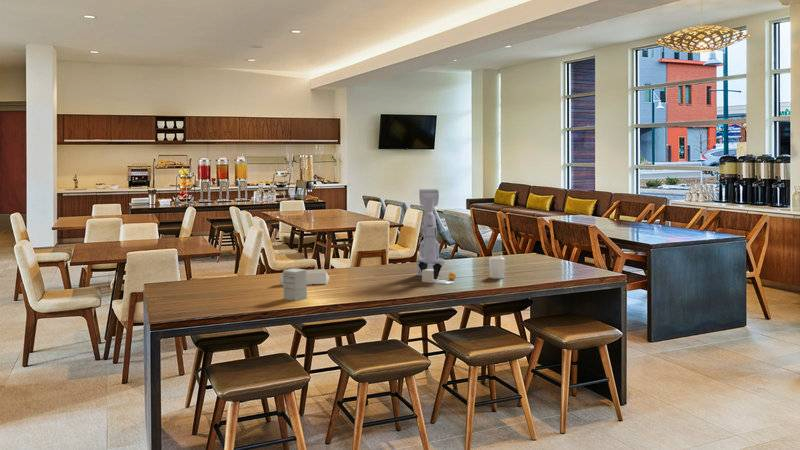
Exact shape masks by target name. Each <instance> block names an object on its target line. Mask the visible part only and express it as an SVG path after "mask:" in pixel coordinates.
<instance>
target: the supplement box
mask: <svg viewBox="0 0 800 450" xmlns="http://www.w3.org/2000/svg"><path fill="white" fill-rule="evenodd" d="M306 270H307V269H304V268H303V269H301V268H297V267H296V268H293V267H292V268H289V269H284V270H282V273H283V288H282V289H283V300H286V301H287V300H289V301H294V302H296V301H297V302H298V301H299V300H303V299H308V291H307V290H308V289H307V286H308V285H307V284H306Z"/></svg>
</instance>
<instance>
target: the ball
mask: <svg viewBox="0 0 800 450" xmlns="http://www.w3.org/2000/svg"><path fill="white" fill-rule="evenodd" d="M447 277H448V280H450V281H454V280H455V279H456V277H457V274H456V273H455V272H454V271H452V272H449V273H448V275H447Z"/></svg>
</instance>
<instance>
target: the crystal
mask: <svg viewBox="0 0 800 450" xmlns="http://www.w3.org/2000/svg"><path fill="white" fill-rule="evenodd" d="M305 270H306V284H307V286H308V285H309V286H310V285H312V284H315V285H327V284H328V283H329V281H330V276H329V274H328V272H327V270H326V269H325V268H319V269H318V268H317V269H315V268H314V269H305ZM279 284H280V285H281V286H282V285H283V272H282V273H281V275H280V277H279Z"/></svg>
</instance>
